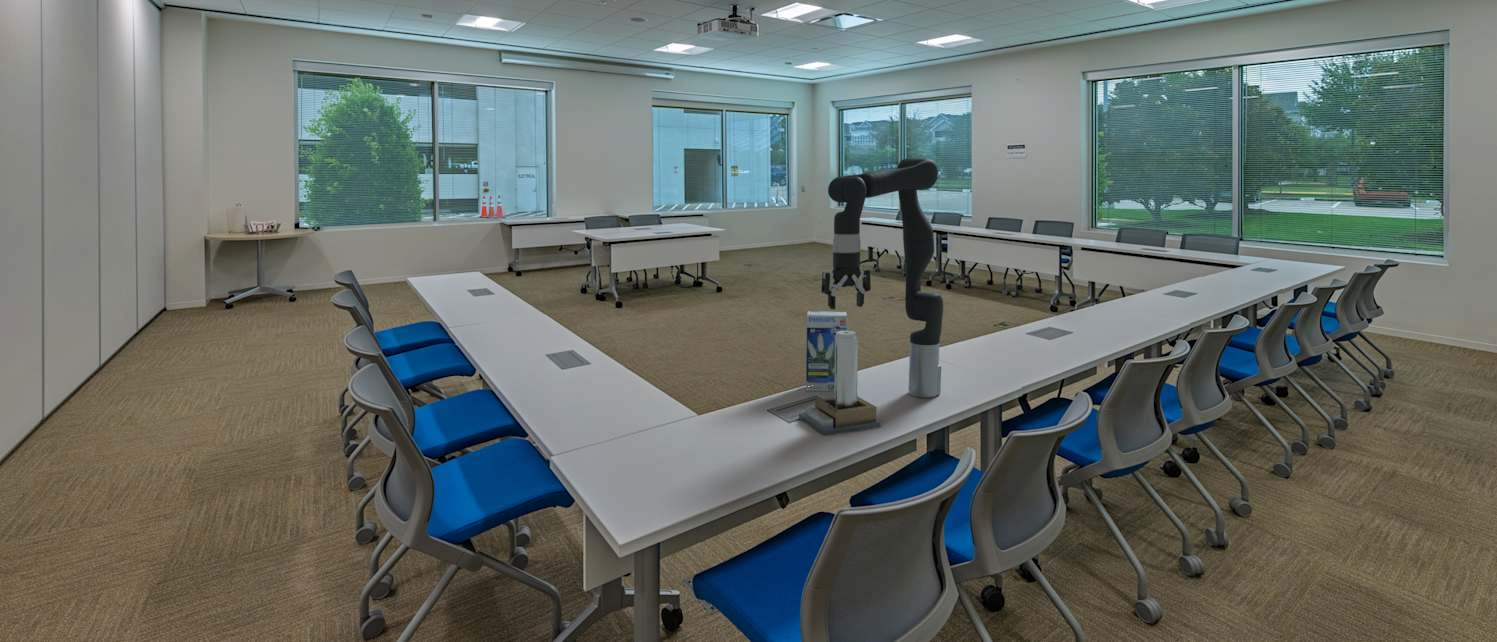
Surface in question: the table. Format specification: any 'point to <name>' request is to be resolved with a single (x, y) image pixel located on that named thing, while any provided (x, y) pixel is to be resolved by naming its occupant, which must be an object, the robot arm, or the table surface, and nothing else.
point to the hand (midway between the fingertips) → (845, 307)
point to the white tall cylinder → (846, 370)
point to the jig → (840, 417)
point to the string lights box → (822, 348)
